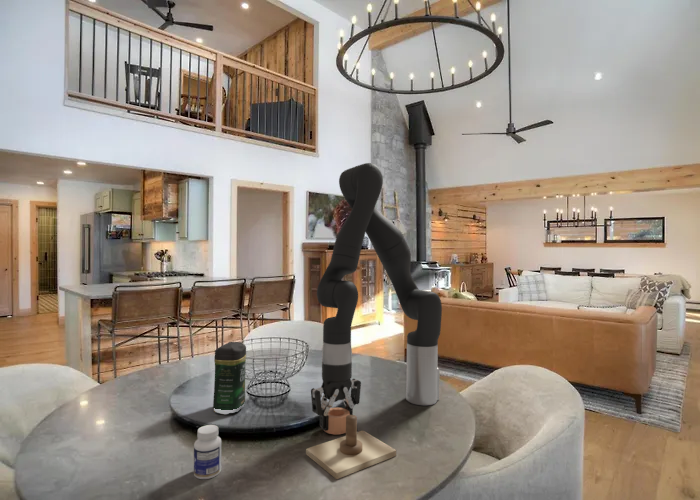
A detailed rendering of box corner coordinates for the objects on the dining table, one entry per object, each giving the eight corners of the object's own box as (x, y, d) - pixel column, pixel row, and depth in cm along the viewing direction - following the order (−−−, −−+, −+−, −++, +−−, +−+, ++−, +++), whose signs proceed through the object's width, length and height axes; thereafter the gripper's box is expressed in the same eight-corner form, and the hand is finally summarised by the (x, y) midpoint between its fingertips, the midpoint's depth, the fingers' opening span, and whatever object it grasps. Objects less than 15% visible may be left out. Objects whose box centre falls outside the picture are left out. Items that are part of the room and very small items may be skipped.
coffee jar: (237, 416, 109) (238, 348, 109) (209, 415, 109) (210, 347, 109) (249, 403, 118) (249, 340, 118) (222, 402, 119) (223, 339, 119)
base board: (362, 435, 99) (362, 430, 99) (396, 455, 89) (396, 450, 89) (305, 454, 89) (306, 448, 89) (336, 479, 80) (336, 473, 80)
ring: (339, 420, 106) (339, 405, 106) (354, 429, 101) (354, 413, 101) (318, 427, 102) (319, 411, 102) (333, 436, 97) (333, 420, 97)
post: (353, 442, 93) (353, 410, 93) (366, 450, 89) (367, 418, 89) (335, 448, 90) (335, 415, 90) (348, 457, 86) (349, 423, 86)
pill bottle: (198, 466, 84) (198, 423, 84) (223, 465, 84) (224, 422, 84) (190, 480, 79) (190, 435, 79) (217, 479, 79) (218, 434, 79)
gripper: (350, 352, 108) (350, 413, 109) (304, 360, 100) (304, 427, 100) (368, 358, 102) (368, 423, 103) (320, 368, 94) (320, 439, 94)
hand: (336, 425), depth 101 cm, fingers closed on ring, 6 cm apart
